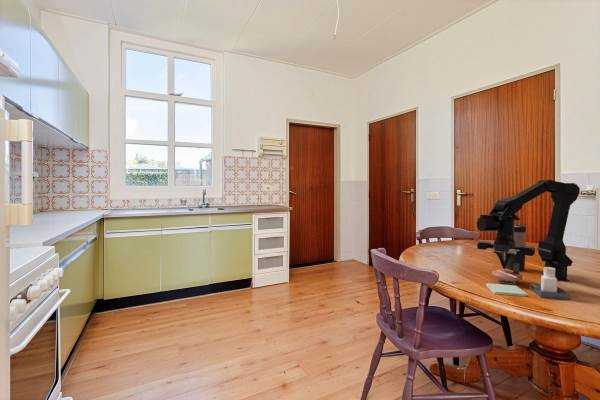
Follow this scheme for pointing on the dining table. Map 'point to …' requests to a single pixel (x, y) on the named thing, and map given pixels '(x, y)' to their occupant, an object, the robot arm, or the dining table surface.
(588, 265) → the dining table surface
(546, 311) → the dining table surface
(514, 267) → the handwheel
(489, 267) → the dining table surface
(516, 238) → the travel mug
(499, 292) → the board
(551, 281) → the pepper shaker
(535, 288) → the dark grey square frame
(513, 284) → the wheel post
